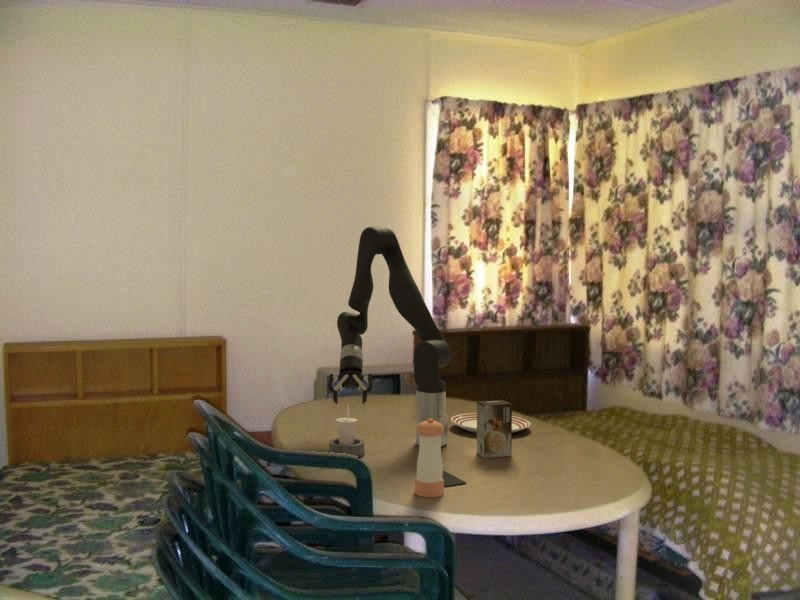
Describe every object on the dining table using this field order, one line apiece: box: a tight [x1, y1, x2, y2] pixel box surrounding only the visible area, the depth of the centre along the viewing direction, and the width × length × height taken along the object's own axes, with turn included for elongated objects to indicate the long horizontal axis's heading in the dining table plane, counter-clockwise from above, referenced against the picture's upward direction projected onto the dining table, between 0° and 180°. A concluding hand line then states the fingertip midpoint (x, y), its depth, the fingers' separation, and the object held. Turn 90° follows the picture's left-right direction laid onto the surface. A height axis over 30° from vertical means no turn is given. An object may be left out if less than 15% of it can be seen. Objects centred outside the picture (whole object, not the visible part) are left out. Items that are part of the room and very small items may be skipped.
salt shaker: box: [414, 418, 445, 498], centre depth 198 cm, size 7×7×19 cm
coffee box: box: [476, 399, 513, 459], centre depth 236 cm, size 9×6×16 cm
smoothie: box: [335, 405, 358, 445], centre depth 234 cm, size 6×6×14 cm
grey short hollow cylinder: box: [328, 437, 366, 458], centre depth 235 cm, size 11×11×4 cm
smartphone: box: [442, 470, 467, 488], centre depth 212 cm, size 7×1×15 cm
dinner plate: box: [450, 412, 532, 434], centre depth 270 cm, size 27×27×3 cm
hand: (349, 402), depth 247 cm, fingers open, 8 cm apart
